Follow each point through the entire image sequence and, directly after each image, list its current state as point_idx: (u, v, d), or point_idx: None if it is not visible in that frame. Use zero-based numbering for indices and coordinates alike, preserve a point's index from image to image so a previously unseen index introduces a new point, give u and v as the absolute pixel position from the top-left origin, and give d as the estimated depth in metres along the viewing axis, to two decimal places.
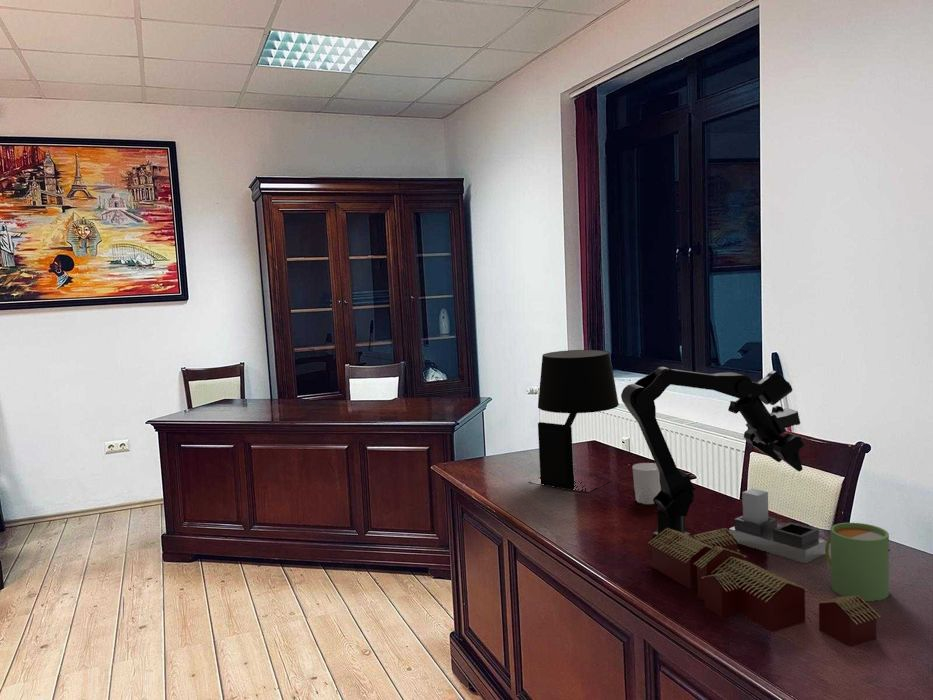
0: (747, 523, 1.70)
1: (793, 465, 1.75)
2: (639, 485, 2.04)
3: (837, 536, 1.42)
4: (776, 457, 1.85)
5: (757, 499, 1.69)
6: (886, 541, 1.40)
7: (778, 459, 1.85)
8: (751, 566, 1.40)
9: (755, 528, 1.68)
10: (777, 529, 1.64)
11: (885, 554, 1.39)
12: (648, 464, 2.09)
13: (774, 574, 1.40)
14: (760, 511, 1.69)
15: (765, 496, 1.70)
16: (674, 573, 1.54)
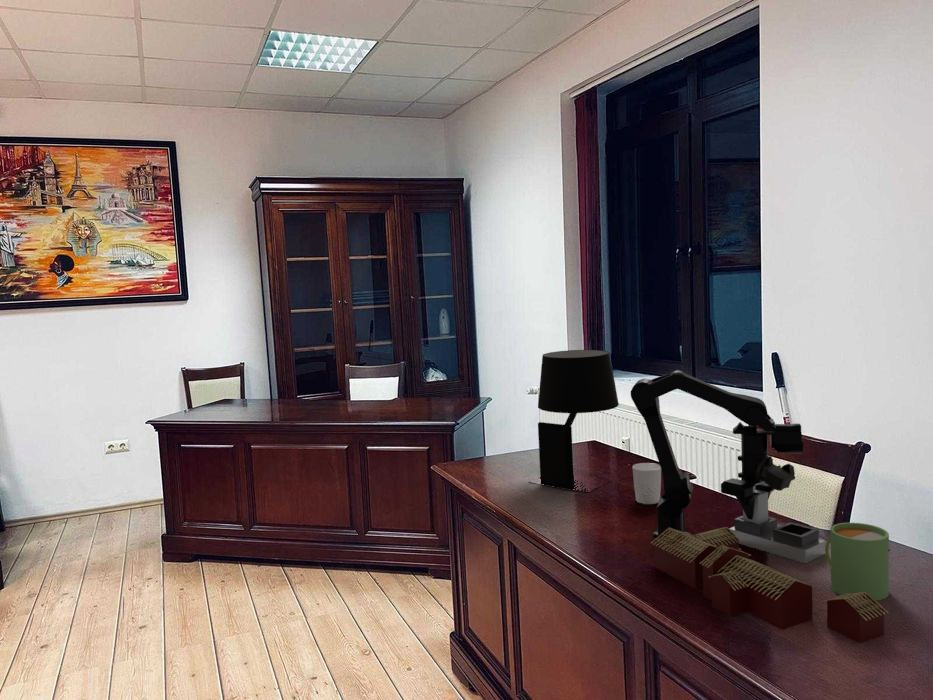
0: (747, 523, 1.70)
1: (743, 507, 1.71)
2: (639, 485, 2.04)
3: (837, 536, 1.42)
4: None
5: (757, 499, 1.69)
6: (886, 541, 1.40)
7: None
8: (757, 564, 1.41)
9: (755, 528, 1.68)
10: (777, 529, 1.64)
11: (885, 554, 1.39)
12: (648, 464, 2.09)
13: (780, 572, 1.41)
14: (760, 511, 1.69)
15: (765, 496, 1.70)
16: (678, 573, 1.54)
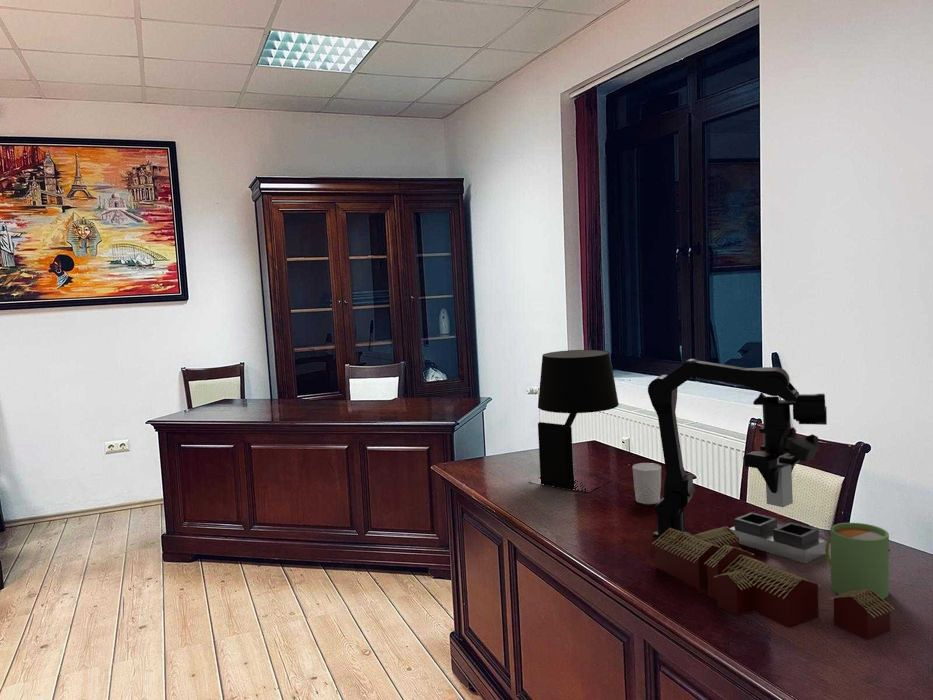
0: (747, 523, 1.70)
1: (766, 481, 1.65)
2: (639, 485, 2.04)
3: (837, 536, 1.42)
4: None
5: (781, 472, 1.63)
6: (886, 541, 1.40)
7: None
8: (762, 563, 1.41)
9: (755, 528, 1.68)
10: (777, 529, 1.64)
11: (885, 554, 1.39)
12: (648, 464, 2.09)
13: (784, 571, 1.41)
14: (784, 485, 1.64)
15: (789, 468, 1.65)
16: (680, 573, 1.54)
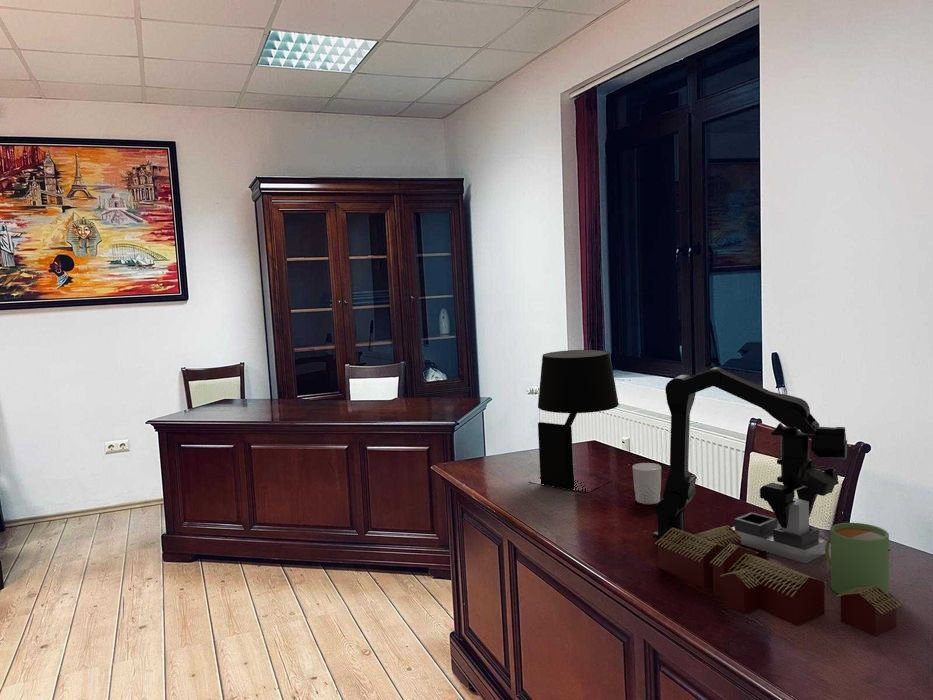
0: (747, 523, 1.70)
1: (776, 515, 1.61)
2: (639, 485, 2.04)
3: (837, 536, 1.42)
4: None
5: (798, 509, 1.60)
6: (886, 541, 1.40)
7: None
8: (767, 562, 1.42)
9: (755, 528, 1.68)
10: (777, 529, 1.64)
11: (885, 554, 1.39)
12: (648, 464, 2.09)
13: (789, 569, 1.42)
14: (801, 522, 1.61)
15: (806, 505, 1.62)
16: (684, 573, 1.54)
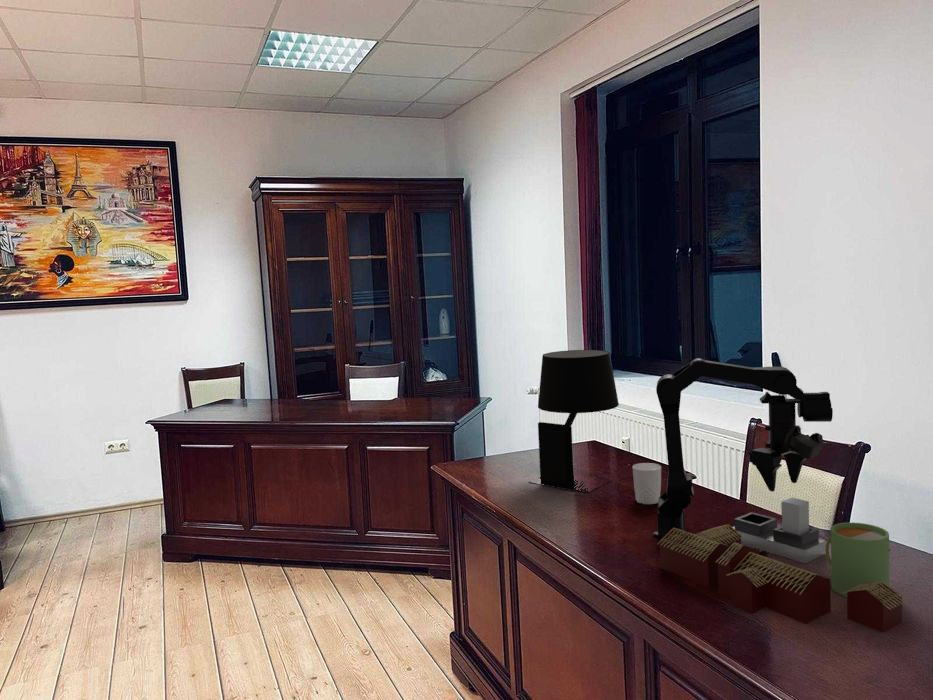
0: (747, 523, 1.70)
1: (764, 479, 1.68)
2: (639, 485, 2.04)
3: (837, 536, 1.42)
4: (792, 476, 1.73)
5: (798, 509, 1.60)
6: (886, 541, 1.40)
7: (792, 479, 1.73)
8: (773, 560, 1.42)
9: (755, 528, 1.68)
10: (777, 529, 1.64)
11: (885, 554, 1.40)
12: (648, 464, 2.09)
13: None
14: (801, 522, 1.61)
15: (806, 505, 1.62)
16: (688, 573, 1.54)
